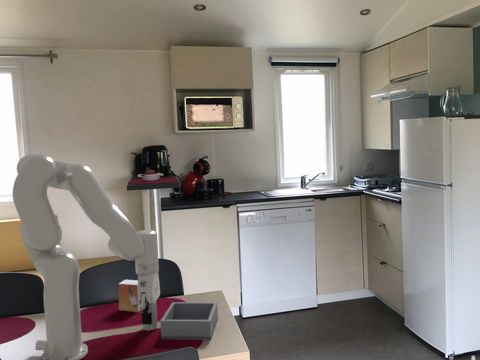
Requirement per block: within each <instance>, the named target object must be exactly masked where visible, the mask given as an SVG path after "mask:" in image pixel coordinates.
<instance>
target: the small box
mask: <svg viewBox="0 0 480 360" xmlns="http://www.w3.org/2000/svg"><path fill="white" fill-rule="evenodd" d="M140 305H141V304H139V302H138V279H136V280H135V279H134V280H133V279H124V280H122V281H121V282H119V283H118V310H119V311H120V312H121V311H124V312H133V313H139V312H140V311H141V309H140Z"/></svg>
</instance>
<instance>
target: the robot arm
mask: <svg viewBox="0 0 480 360" xmlns="http://www.w3.org/2000/svg"><path fill="white" fill-rule="evenodd" d="M16 172H17V175H16V177H15V179H14V183H13V187H12V201H13V204H14V208H15V209H16V210H15V211H16V212H17V214H18V217H19V220H20V221H21V222H20V223H21V224H20V227H19V228H20V229H19V233H20V237H21V241H22V243H23V245H24V248H25V249H26V251H27V253H28V256H29V258H30V259H31V262H32V264H33V267H35V268H34V269H36V271H37V272H38V273H39V274H40V275H41V276H42V277H43V280H44V281H43V284H44V285H43V287H44V288H43V307H44V317H45V318H44V319H45V334H46V337H45V338H46V340H44V339H41V340H40V339H37V340H36V342H35V346H34V349H35V351H43V353H42V355H41V360H81V359H83V358H85V356H86V355H87V354H88V351H89V348H88V345H87V344H86V343H84V342H83V339H82V323H81V321H82V320H81V306H80V304H81V303H80V290H79V286H80V285H79V283H80V274H81V273H80V271H81V270H80V264H79V261H78V259H77V257H75V255H74V254H73V253H72V252H70V251H68V250H66V249H64V247H63V245H62V242H61V241H62V238H63V231H62V227H61V225H60V223H59V221H58V219H57V216H56V214H55V212H54V209H53V208H52V204H51V203H50V200H49V196H48V188H53V189H57V190H65V191H69V192H70V194H71V195H72V196H73V198H74V199H75V201H76V202H77V203H78V205H79V206H80V208H81V209H82V211H83V212H84V213H85V215H86V216H87V218H88V219H89V221H91V222H92V223H93V224H94V225H96V226H97V227H98V228H100V229H101V230H103V232H104V233H106V235H107V236H108V237H109V240H108V241H107V247H108V249H109V251H110V253H112V254H113V255H115V256H117V257H119V258H121V259H124V260H127V261H130V262H131V261H135V263H134V264H135V265H134V266H135V274H136V275H137V280H138V302H139V304H141V305H140V309H141V310H140V311H141V324H142V325H143V324H152V312H151V304H153V303H154V302H155V301H156V302H157V300H158V299H159V297H160V295H161V288H160V287H161V286H160V279H159V278H160V277H159V269H160V266H159V249H158V247H159V245H158V244H159V243H158V234H157V233H158V232H156V230H152V229H143V230H138V231H137V230H136V228H135V227H134V226H133V224H132V223H131V222H130V220H129V219H128V218H127V217H126V216H125V214H123V213H122V211H121V209H119V208H118V206H117V205H116V204H114V202H113V201H112V199H111V198H110V196H109V195H108V193H107V192H106V190H105V189H104V187H103V185H102V184H101V183H100V181H99V179H98V178H97V176H96V175H95V173H94V172H93V170H92V169H91V168H90V167H88V166H87V165H85V164H80V163H69V162H64V161H60V160H57V159H53V158H51V157H50V156H49V155H47V154H44V153H33V154H32V153H30V154H26V155H24V156H22V157H21V158H20V159H19V160H18V162H17V164H16ZM146 301H148V303H146ZM145 305H148V308H147V307H146V306H145ZM156 309H158V308H157V307H156Z"/></svg>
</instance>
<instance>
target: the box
mask: <svg viewBox="0 0 480 360" xmlns="http://www.w3.org/2000/svg"><path fill="white" fill-rule="evenodd" d="M218 309H219V308H218V302H216V301H215V302H214V301H211V302H210V301H209V302H204V301H203V302H201V301H200V302H192V301H191V302H189V301H184V302H183V301H181V302H179V301H178V302H177V301H176V302H173V301H172V303H171V304H170V305H169V307H168V308H167V310H166V311H165V313H164V315H163V316H162V318H161V319H160V321H159V322H160V338H161V339H160V340H184V341H185V340H192V341H193V340H194V341H195V340H197V341H199V340H201V341H202V340H203V341H205V340H207V341H209V340H212V338H213V335H214V332H215V328H216V327H217V323H218V320H219V311H218Z"/></svg>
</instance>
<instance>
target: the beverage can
mask: <svg viewBox="0 0 480 360" xmlns="http://www.w3.org/2000/svg"><path fill="white" fill-rule="evenodd" d="M146 303H148V301H146ZM145 306H146V307H147V308H148V305H145ZM156 308H157V300H156V301H155V302H154V303H153V304H151V312H152V324H142V329H143V330H144V331H146V330H147V332H151V331H150V330H152V331H155V330H157V328H158V318H157V317H158V314H157V313H158V312H157V309H158V308H157V309H156Z"/></svg>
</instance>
